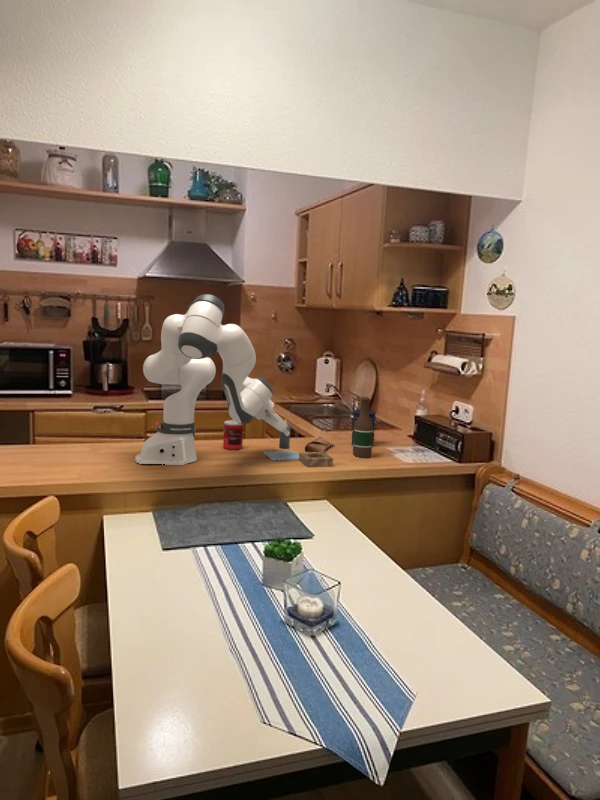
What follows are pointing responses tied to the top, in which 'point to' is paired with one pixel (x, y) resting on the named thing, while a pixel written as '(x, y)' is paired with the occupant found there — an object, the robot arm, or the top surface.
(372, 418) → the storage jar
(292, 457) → the mat
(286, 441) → the plug
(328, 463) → the socket
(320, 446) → the sunglasses case
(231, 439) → the canned food
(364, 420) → the beer bottle
